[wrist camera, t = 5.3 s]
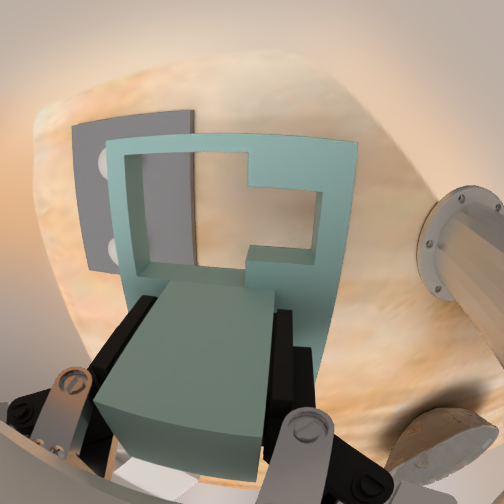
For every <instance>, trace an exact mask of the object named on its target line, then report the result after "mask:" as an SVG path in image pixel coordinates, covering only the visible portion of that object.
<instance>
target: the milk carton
mask: <svg viewBox="0 0 504 504" xmlns="http://www.w3.org/2000/svg"><path fill="white" fill-rule="evenodd" d="M199 478H200V475H199V474H194V473H189V472H185V471H180V470H176V469H172V468H168V467H164V466H160V465H156V464H153V463H149V462H146V461H143V460H140V459H136V458H133V457H130V456H129V455H128V454H127V452H126V451H125V450H124V448H123V447H122V445H121V444H120V442H119V443H118V447H117V452H116V457H115V462H114V467H113V473H112V478H111V481H112V482H114V483H117V484H119V485H122V486H125V487H127V488H130V489H133V490H136V491H139V492H142V493H145V494H148V495H151V496H155V497H158V498H162V499H165V500H169V501H173V500H175V499H176V498H177V497H179V496H180V495H181V494H183V493H184V492H185V491H187V490H188V489H189V488H191V487H192V486H193V485H194V484H196V483H197V482H198V481H199Z"/></svg>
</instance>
